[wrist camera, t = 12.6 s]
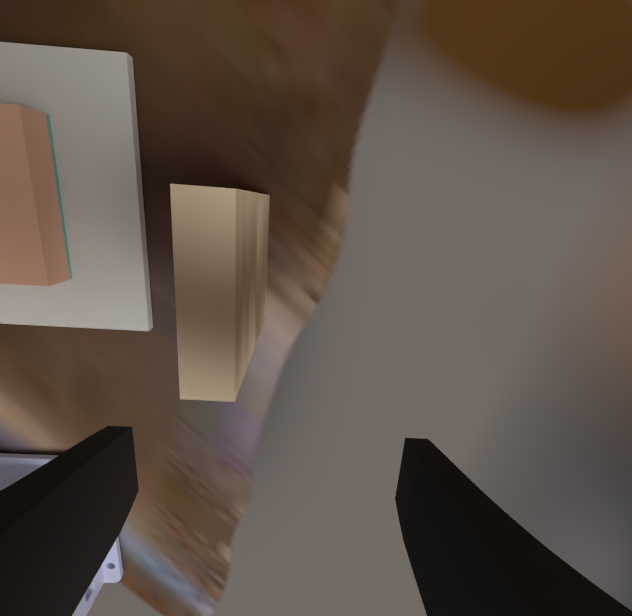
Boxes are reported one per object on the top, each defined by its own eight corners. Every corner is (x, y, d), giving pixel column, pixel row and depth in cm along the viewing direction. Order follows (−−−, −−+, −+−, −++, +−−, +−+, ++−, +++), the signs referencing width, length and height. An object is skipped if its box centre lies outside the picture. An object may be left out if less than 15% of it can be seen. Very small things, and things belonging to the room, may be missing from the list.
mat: (153, 327, 18) (148, 331, 17) (-90, 314, 17) (-101, 318, 17) (132, 57, 14) (126, 52, 14) (-172, 32, 14) (-189, 25, 13)
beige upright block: (265, 316, 18) (234, 401, 10) (234, 314, 18) (179, 398, 10) (269, 195, 16) (235, 188, 9) (235, 192, 16) (169, 183, 8)
